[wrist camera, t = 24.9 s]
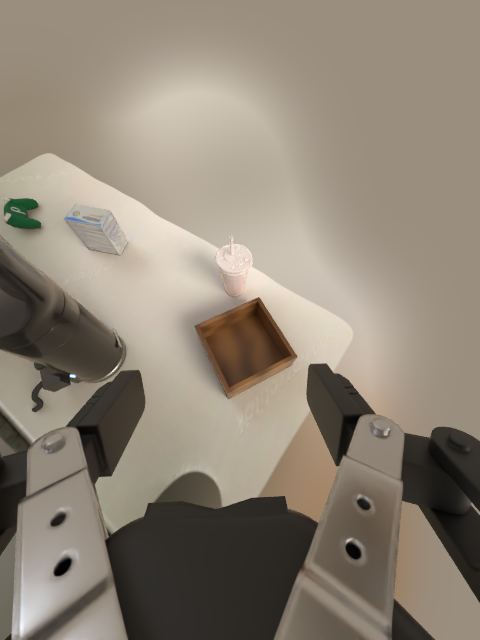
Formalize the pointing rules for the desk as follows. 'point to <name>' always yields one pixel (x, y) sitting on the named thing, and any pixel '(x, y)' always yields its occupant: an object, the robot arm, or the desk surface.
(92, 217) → the medicine box
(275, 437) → the desk surface
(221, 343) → the wooden box
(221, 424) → the desk surface
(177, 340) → the desk surface
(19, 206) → the gaming controller
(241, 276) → the smoothie
